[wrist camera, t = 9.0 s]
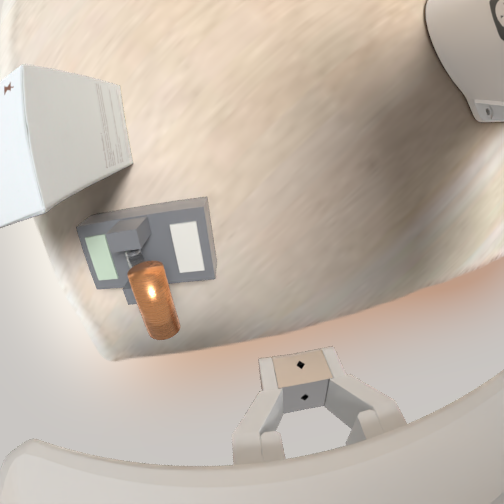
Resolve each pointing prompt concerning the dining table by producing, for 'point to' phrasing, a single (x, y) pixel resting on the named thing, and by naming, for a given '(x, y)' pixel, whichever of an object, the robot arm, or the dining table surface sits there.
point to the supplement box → (56, 138)
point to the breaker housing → (150, 242)
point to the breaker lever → (152, 295)
